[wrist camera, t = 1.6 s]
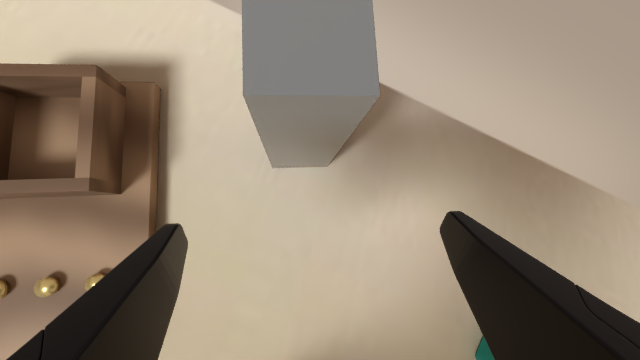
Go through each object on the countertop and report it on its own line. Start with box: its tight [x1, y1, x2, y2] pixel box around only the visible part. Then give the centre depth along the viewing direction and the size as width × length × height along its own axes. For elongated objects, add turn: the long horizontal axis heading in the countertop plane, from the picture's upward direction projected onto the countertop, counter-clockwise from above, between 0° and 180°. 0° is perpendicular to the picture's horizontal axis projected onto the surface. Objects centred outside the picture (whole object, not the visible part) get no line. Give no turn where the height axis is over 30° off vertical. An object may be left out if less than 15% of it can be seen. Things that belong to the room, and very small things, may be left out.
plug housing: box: [242, 0, 380, 168], centre depth 15 cm, size 4×4×13 cm
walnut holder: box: [0, 64, 160, 360], centre depth 17 cm, size 19×12×4 cm, turn 3°
